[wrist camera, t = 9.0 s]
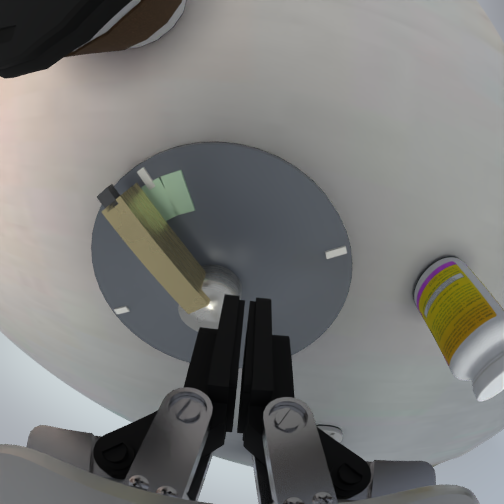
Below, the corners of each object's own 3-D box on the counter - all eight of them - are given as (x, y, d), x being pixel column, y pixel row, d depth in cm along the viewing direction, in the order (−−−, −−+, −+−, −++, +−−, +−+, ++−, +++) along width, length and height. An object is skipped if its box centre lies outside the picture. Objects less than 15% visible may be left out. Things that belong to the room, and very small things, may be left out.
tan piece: (252, 296, 23) (250, 328, 20) (208, 315, 24) (201, 346, 21) (148, 157, 17) (126, 170, 14) (106, 192, 18) (81, 211, 15)
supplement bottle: (400, 304, 25) (450, 414, 14) (432, 247, 22) (511, 352, 11) (443, 311, 26) (493, 403, 14) (474, 261, 22) (543, 349, 11)
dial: (361, 331, 27) (364, 341, 26) (171, 370, 31) (168, 380, 30) (308, 99, 16) (312, 99, 15) (59, 208, 21) (50, 214, 19)
